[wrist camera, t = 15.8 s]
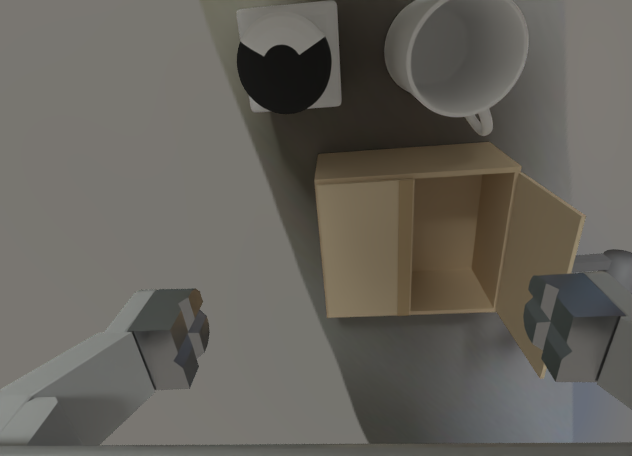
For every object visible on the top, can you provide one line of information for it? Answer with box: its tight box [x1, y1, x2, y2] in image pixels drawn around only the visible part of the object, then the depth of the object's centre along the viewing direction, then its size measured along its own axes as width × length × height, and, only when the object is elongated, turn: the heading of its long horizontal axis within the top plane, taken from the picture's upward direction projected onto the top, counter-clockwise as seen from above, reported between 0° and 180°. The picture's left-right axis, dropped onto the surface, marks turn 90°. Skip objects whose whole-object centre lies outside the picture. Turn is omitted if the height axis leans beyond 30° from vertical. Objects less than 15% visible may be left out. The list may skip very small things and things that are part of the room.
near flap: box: [497, 173, 632, 379], centre depth 33 cm, size 15×9×6 cm
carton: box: [314, 142, 522, 318], centre depth 41 cm, size 16×18×9 cm
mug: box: [384, 0, 529, 136], centre depth 32 cm, size 12×8×12 cm
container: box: [237, 0, 342, 114], centre depth 32 cm, size 8×8×13 cm
